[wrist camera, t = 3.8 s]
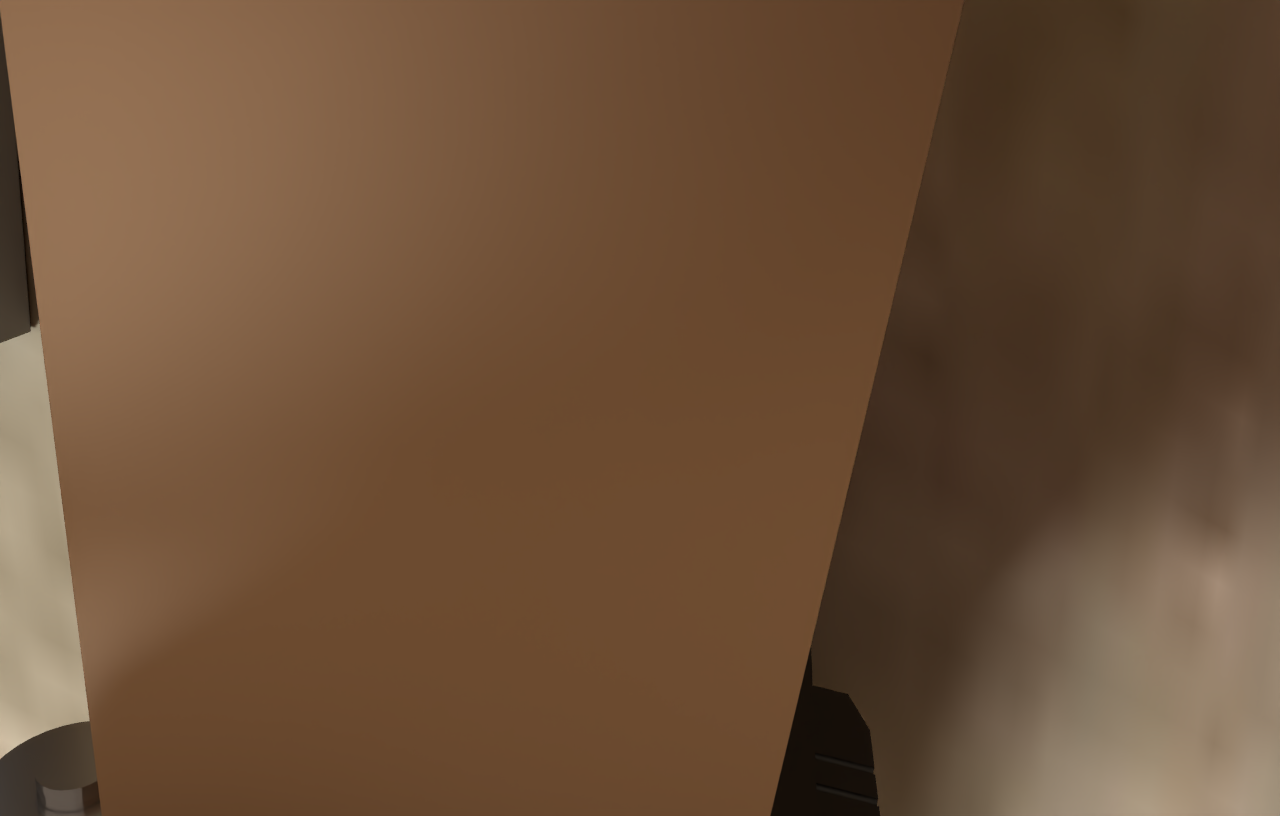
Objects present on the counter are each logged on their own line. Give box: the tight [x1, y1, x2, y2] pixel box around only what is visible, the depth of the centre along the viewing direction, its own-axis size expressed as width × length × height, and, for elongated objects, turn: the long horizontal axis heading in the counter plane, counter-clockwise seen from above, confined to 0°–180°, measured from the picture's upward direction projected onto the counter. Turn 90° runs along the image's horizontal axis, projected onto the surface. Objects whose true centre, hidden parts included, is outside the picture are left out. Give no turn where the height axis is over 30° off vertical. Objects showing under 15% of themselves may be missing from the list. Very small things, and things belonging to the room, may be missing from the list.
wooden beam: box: [0, 0, 964, 816], centre depth 9 cm, size 20×4×6 cm, turn 173°
